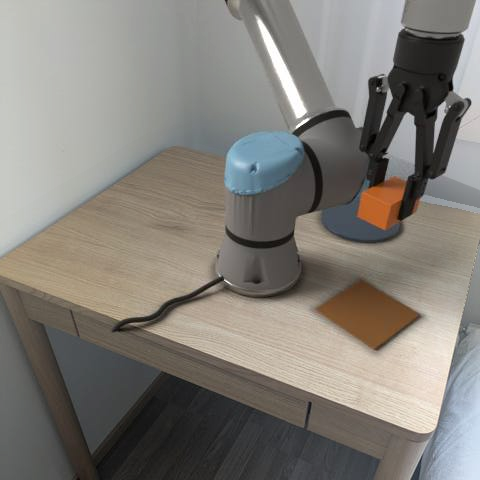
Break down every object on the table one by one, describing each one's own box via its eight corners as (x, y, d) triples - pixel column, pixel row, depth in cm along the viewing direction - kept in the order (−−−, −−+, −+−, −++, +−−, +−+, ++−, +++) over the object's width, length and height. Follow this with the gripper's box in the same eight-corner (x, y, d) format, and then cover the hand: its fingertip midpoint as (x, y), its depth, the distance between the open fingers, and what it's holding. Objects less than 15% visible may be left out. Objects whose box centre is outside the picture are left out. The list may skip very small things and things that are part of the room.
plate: (366, 252, 94) (367, 249, 93) (304, 218, 102) (305, 215, 102) (414, 223, 102) (415, 221, 101) (353, 194, 110) (354, 192, 110)
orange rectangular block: (385, 230, 70) (391, 205, 67) (356, 216, 73) (361, 192, 70) (416, 212, 74) (423, 187, 71) (388, 199, 77) (394, 175, 74)
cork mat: (374, 350, 74) (375, 348, 74) (315, 310, 81) (315, 308, 81) (419, 316, 80) (420, 314, 80) (361, 281, 87) (361, 279, 87)
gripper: (523, 41, 54) (456, 225, 70) (386, 13, 64) (355, 180, 79) (490, 52, 50) (427, 244, 66) (350, 20, 60) (324, 194, 76)
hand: (388, 209), depth 73 cm, fingers closed on orange rectangular block, 5 cm apart
